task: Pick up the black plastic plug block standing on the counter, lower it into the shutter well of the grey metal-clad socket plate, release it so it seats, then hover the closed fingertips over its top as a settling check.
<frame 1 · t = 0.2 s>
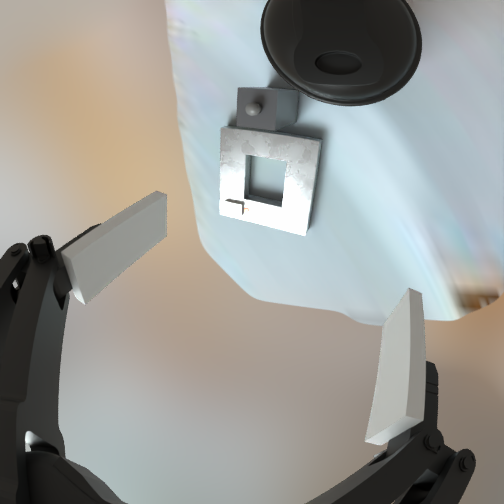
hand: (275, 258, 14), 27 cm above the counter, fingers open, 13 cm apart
plug: (281, 104, 34), on the counter
water bottle: (356, 63, 27), on the counter
socket: (268, 177, 41), on the counter
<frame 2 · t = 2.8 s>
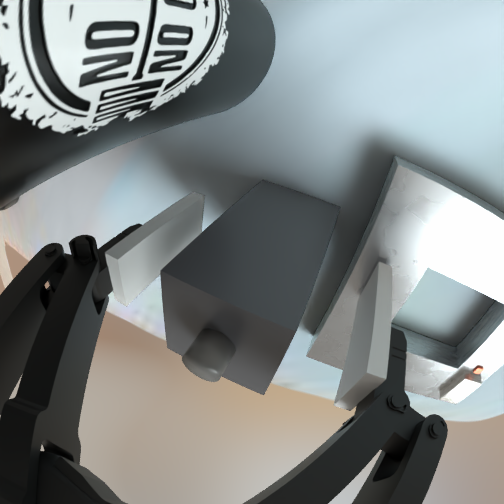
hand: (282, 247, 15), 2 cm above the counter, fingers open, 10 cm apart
plug: (291, 227, 16), on the counter
water bottle: (204, 46, 12), on the counter
socket: (443, 304, 15), on the counter
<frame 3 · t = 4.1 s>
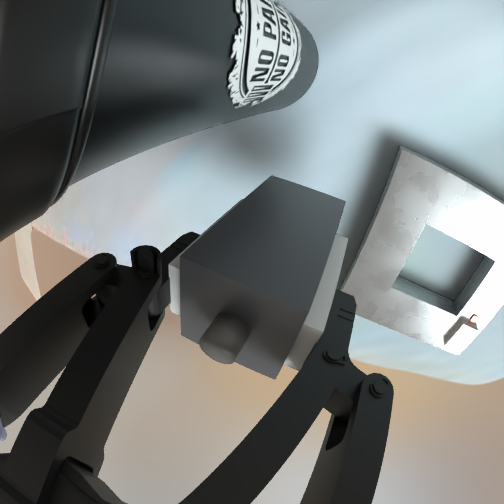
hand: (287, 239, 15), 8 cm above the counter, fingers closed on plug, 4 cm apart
plug: (298, 220, 17), point 6 cm above the counter, touching gripper
water bottle: (263, 59, 18), on the counter
socket: (441, 261, 19), on the counter
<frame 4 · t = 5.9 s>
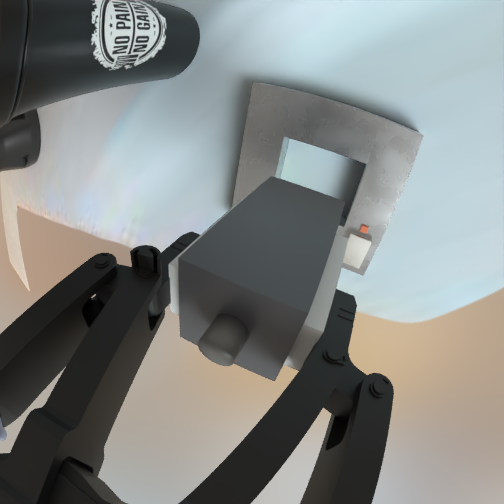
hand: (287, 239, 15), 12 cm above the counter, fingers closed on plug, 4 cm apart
plug: (298, 221, 17), point 9 cm above the counter, touching gripper
water bottle: (166, 43, 22), on the counter
socket: (320, 175, 24), on the counter
when the fingers open (3 cm above the counter, at t = 7.9 s): plug drops 1 cm, resting in socket.
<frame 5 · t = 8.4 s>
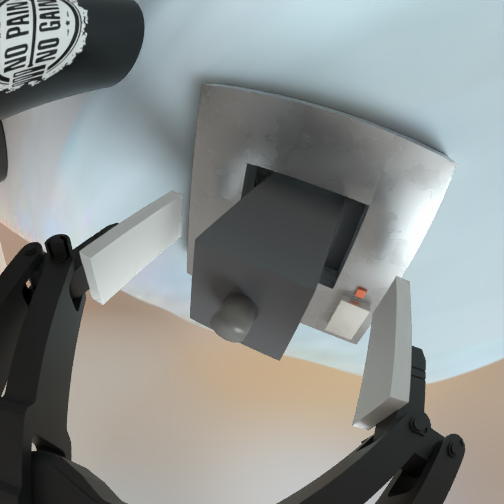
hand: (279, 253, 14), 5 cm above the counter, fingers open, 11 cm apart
plug: (301, 213, 18), resting in socket
water bottle: (110, 41, 16), on the counter
socket: (302, 215, 18), on the counter
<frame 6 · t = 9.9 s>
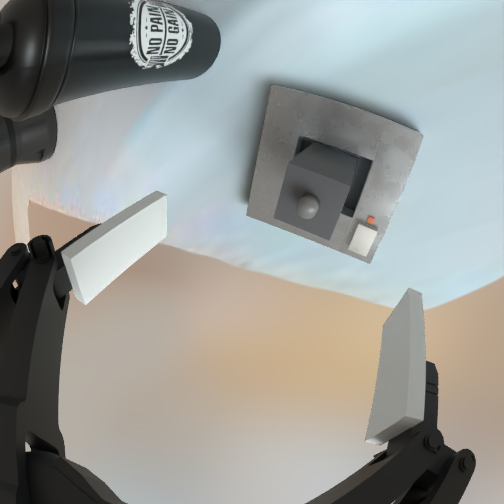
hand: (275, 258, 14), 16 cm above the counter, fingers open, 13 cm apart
plug: (329, 170, 26), resting in socket
water bottle: (188, 45, 24), on the counter
socket: (330, 171, 26), on the counter
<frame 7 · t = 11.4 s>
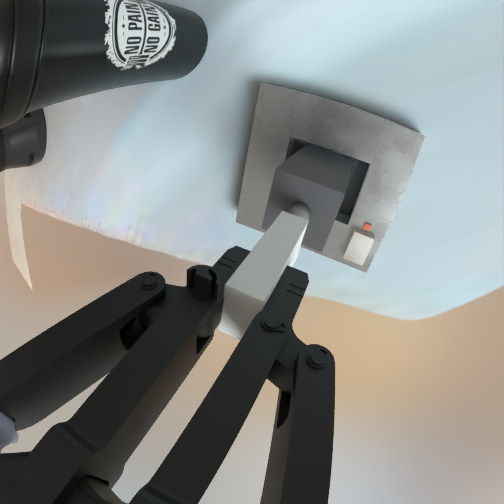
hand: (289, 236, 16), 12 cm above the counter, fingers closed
plug: (323, 174, 25), resting in socket
water bottle: (174, 43, 23), on the counter
socket: (324, 175, 25), on the counter
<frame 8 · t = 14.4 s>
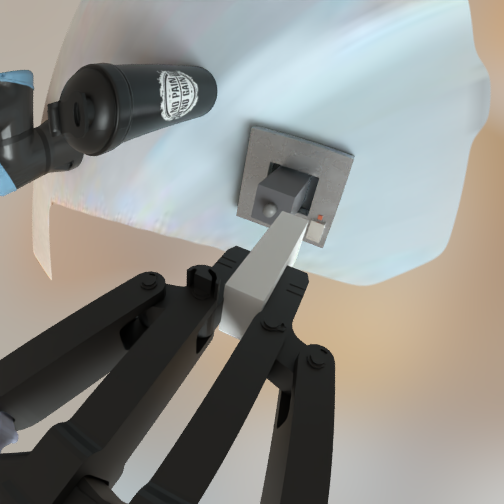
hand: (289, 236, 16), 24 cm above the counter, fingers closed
plug: (292, 184, 40), resting in socket
water bottle: (194, 92, 38), on the counter
socket: (293, 184, 40), on the counter
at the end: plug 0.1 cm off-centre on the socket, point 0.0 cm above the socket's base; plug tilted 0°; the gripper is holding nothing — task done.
